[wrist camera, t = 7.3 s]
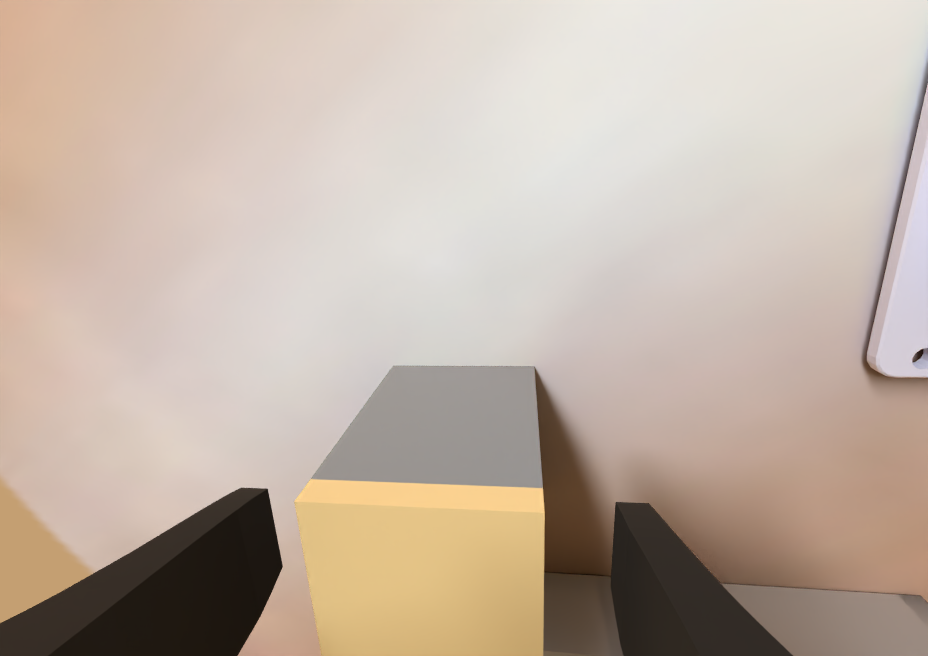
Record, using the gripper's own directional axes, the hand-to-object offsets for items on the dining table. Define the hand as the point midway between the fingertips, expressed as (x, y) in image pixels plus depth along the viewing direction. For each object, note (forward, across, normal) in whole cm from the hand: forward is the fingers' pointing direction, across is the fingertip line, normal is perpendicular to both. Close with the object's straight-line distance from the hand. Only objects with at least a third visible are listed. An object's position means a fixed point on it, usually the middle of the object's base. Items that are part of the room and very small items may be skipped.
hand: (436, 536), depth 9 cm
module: (+4, 0, 0) cm, 4 cm away
